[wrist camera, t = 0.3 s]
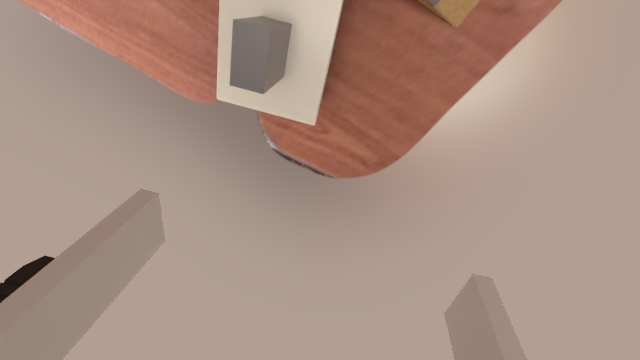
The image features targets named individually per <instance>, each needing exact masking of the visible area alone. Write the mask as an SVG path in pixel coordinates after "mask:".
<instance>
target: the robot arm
mask: <svg viewBox="0 0 640 360" xmlns="http://www.w3.org/2000/svg"><path fill="white" fill-rule="evenodd" d="M164 242H165V238H164V230H163V223H162V215H161V208H160V201H159V194H158V193H155V192H151V191H147V190H143V189H140V190H139V191H138V192H136V193H135V194H134V195H133V196H132V197H130V198H129V199H128V200H127V201H125V202H124V203H123V204H122V205H121V206H119V207H118V208H117V209H116V210H114V211H113V212H112V213H111V214H109V215H108V216H107V217H106V218H105V219H103V220H102V221H101V222H100V223H98V224H97V225H96V226H95V227H93V228H92V229H91V230H90V231H88V232H87V233H86V234H85V235H83V236H82V237H81V238H80V239H79V240H77V241H76V242H75V243H74V244H72V245H71V246H70V247H69V248H67V249H66V250H65V251H64V252H63V253H61V254H60V255H59V256H58V257H56V258H52V257H48V256H43V257H41V258H39V259H37V260H35V261H33V262H31V263H29V264H26V265H24V266H23V267H21V268H20V269H19V270H17V271H16V272H15V273H13V274H12V275H11V276H10V277H8V278H7V279H6V280H5V282H4V283H0V360H62V359H63V358H64V357H65V356H66V354H68V353H69V351H70V350H71V349H72V348H73V347H74V346H75V344H76V343H77V342H78V341H79V340H80V339H81V338H82V336H83V335H84V334H85V333H86V331H88V329H89V328H90V327H91V326H92V325H93V324H94V322H95V321H96V320H97V319H98V318H99V317H100V316H101V314H102V313H103V312H104V311H105V310H106V309H107V307H108V306H109V305H110V304H111V303H112V302H113V301H114V299H115V298H116V297H117V296H118V294H120V292H121V291H122V290H123V289H124V288H125V287H126V286H127V284H128V283H129V282H130V281H131V280H132V279H133V277H134V276H135V275H136V274H137V273H138V272H139V270H140V269H141V268H142V267H143V266H144V265H145V263H146V262H147V261H148V260H149V259H150V258H151V257H152V255H153V254H154V253H155V252H156V251H157V250H158V249H159V247H160V246H161V245H162V244H163V243H164ZM445 319H446V323H447V327H448V332H449V336H450V340H451V345H452V350H453V354H454V358H455V360H527V359H526V357H525V354H524V352H523V350H522V347H521V345H520V343H519V340H518V338H517V335H516V333H515V331H514V329H513V326H512V324H511V321H510V319H509V317H508V314H507V312H506V310H505V308H504V305H503V303H502V300H501V298H500V296H499V293H498V291H497V289H496V286H495V284H494V282H493V279H492V278H489V277H485V276H481V275H477V274H473V275H472V276H471V277H470V279H469V280H468V282H467V283H466V285H465V286H464V287H463V289H462V290H461V291H460V293H459V294H458V295H457V297H456V298H455V300H454V301H453V302H452V304H451V305H450V307H449V308H448V309H447V311H446V312H445Z"/></svg>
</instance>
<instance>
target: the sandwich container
mask: <svg viewBox="0 0 640 360" xmlns="http://www.w3.org/2000/svg"><path fill="white" fill-rule="evenodd" d="M417 1H418V2H420V3H421V4H422V5H424V6H425V7H427V8H428V9H430V10H431V11H432V12H434V13H435V14H437V15H438V16H439V17H441V18H442V19H444V20H445V21H446V22H448V23H449V24H451V25H452V26H454V27H455V28H457V27H458V26H459V25H460V24H461V23H462V21H463V20H464V19H465V18H466V17H467V15H468V14H469V13H470V12H471V11H472V9H473V8H474V7H475V6H476V4H477V3H478V2H479V1H480V0H417Z"/></svg>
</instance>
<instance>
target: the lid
mask: <svg viewBox="0 0 640 360" xmlns="http://www.w3.org/2000/svg"><path fill="white" fill-rule="evenodd" d="M343 2H344V0H219V32H218V65H217V100H221V101H225V102H228V103H232V104H236V105H240V106H243V107H247V108H251V109H254V110H258V111H261V112H265V113H269V114H273V115H276V116H280V117H284V118H287V119H291V120H295V121H298V122H302V123H306V124H310V125H313V126H315V124H316V121H317V117H318V113H319V108H320V104H321V99H322V95H323V91H324V86H325V82H326V77H327V73H328V68H329V64H330V60H331V55H332V51H333V46H334V42H335V38H336V33H337V29H338V24H339V20H340V16H341V11H342V7H343Z"/></svg>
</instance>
